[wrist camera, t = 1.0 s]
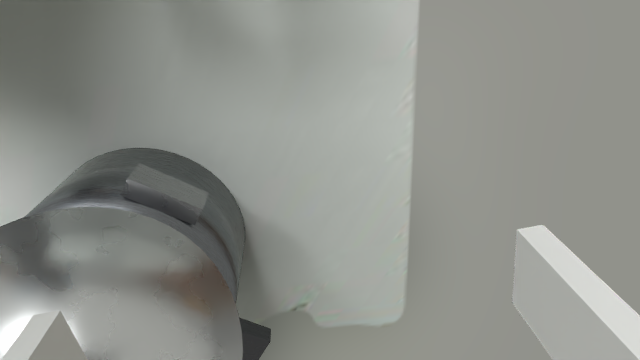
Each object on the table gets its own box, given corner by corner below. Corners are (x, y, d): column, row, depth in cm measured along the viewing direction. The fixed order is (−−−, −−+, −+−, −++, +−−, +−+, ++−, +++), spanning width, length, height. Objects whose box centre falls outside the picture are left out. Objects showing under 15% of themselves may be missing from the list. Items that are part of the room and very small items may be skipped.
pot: (-4, 256, 46) (-92, 340, 36) (50, 80, 39) (-40, 117, 28) (231, 336, 54) (218, 425, 43) (313, 199, 47) (323, 266, 36)
